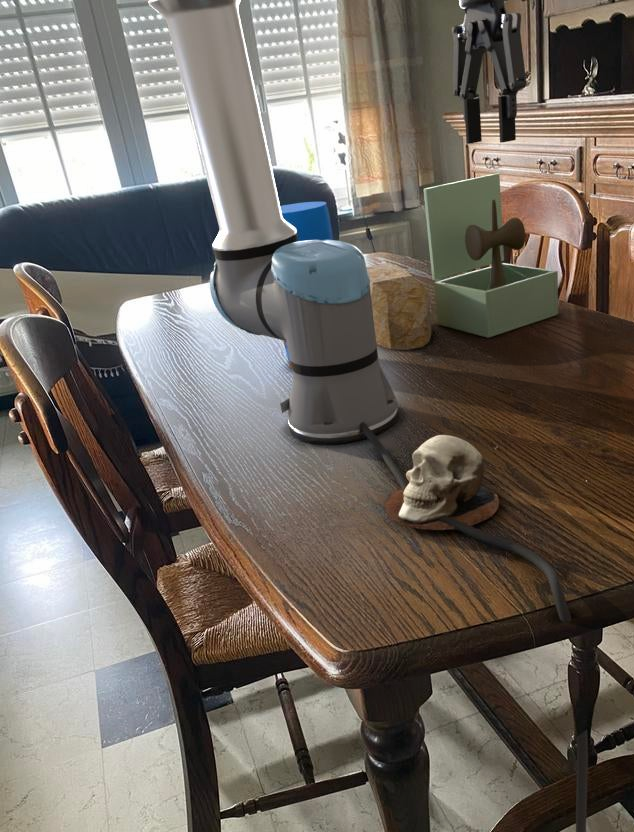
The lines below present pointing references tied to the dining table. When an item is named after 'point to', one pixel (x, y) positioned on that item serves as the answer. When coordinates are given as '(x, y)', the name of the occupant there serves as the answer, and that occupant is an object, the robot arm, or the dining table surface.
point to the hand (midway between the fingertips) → (490, 141)
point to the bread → (399, 308)
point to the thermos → (308, 225)
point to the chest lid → (460, 222)
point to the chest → (496, 300)
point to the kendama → (495, 244)
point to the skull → (443, 487)
